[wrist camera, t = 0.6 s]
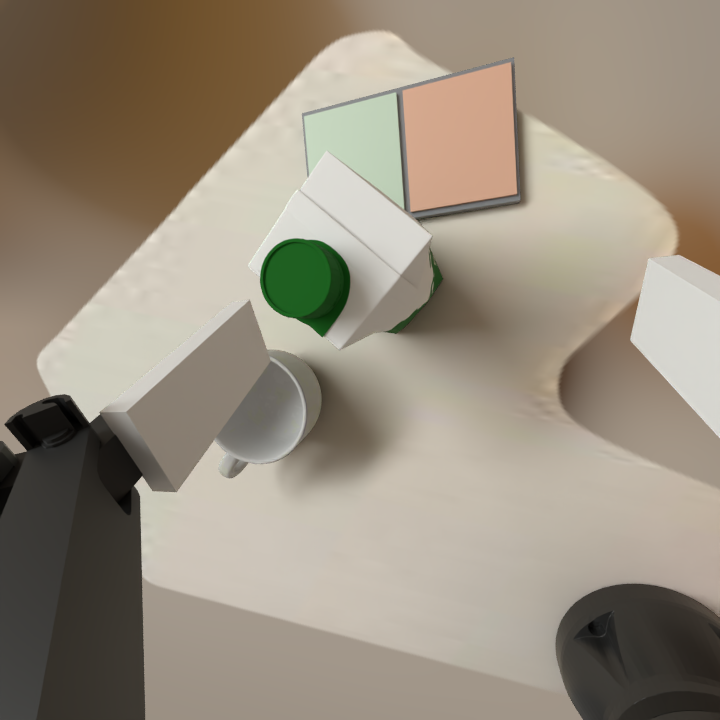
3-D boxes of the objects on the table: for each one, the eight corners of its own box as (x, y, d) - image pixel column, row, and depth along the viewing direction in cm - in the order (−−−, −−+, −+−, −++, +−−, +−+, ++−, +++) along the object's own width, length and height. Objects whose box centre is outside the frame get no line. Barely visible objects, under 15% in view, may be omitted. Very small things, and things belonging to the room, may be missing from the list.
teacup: (280, 326, 41) (238, 327, 33) (353, 390, 39) (326, 406, 32) (217, 416, 44) (166, 435, 37) (282, 478, 43) (242, 511, 35)
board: (519, 202, 33) (520, 198, 32) (315, 236, 39) (311, 233, 38) (512, 63, 32) (514, 54, 31) (305, 117, 38) (300, 111, 37)
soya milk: (335, 292, 39) (210, 261, 20) (390, 220, 36) (309, 107, 17) (397, 346, 38) (328, 370, 18) (458, 276, 35) (452, 220, 16)
